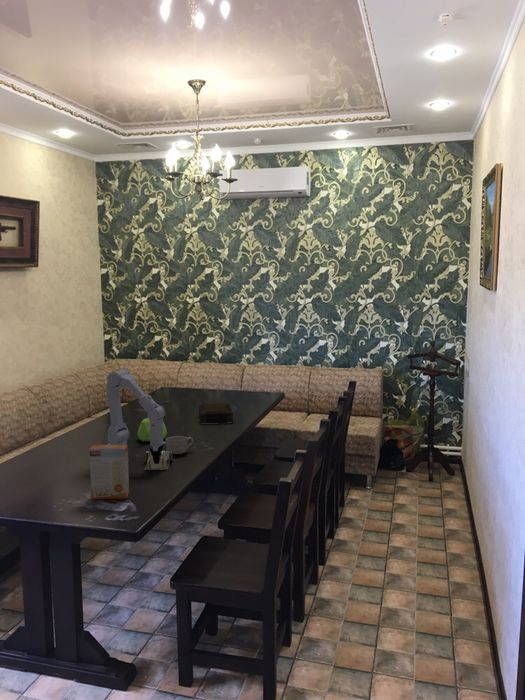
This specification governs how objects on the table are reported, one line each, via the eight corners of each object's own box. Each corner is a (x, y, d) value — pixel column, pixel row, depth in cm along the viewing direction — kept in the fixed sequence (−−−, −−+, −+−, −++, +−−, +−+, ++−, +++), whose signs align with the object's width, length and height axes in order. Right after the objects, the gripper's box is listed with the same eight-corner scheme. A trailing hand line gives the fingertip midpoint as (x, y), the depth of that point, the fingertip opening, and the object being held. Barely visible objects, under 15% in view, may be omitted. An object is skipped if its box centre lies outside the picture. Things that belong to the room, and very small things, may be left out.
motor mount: (142, 470, 264) (142, 458, 264) (146, 460, 279) (146, 449, 279) (170, 470, 265) (170, 458, 265) (172, 460, 280) (172, 448, 280)
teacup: (167, 457, 284) (167, 441, 283) (164, 451, 295) (164, 435, 294) (195, 455, 288) (195, 439, 287) (192, 449, 298) (192, 434, 297)
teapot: (154, 447, 301) (153, 422, 300) (128, 444, 306) (127, 420, 304) (172, 436, 322) (172, 413, 320) (148, 434, 326) (148, 411, 325)
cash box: (233, 424, 350) (233, 411, 349) (200, 425, 347) (199, 412, 346) (230, 414, 375) (230, 403, 374) (198, 415, 372) (198, 403, 371)
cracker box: (129, 494, 236) (128, 443, 234) (126, 499, 230) (125, 448, 228) (94, 494, 236) (93, 444, 233) (90, 499, 230) (89, 448, 227)
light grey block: (150, 468, 266) (150, 456, 265) (152, 464, 271) (151, 453, 270) (161, 468, 267) (161, 456, 266) (162, 464, 271) (162, 453, 271)
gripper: (164, 437, 260) (164, 466, 262) (167, 428, 274) (167, 456, 276) (148, 437, 259) (148, 466, 261) (151, 428, 274) (152, 456, 275)
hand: (157, 461), depth 269 cm, fingers open, 5 cm apart
